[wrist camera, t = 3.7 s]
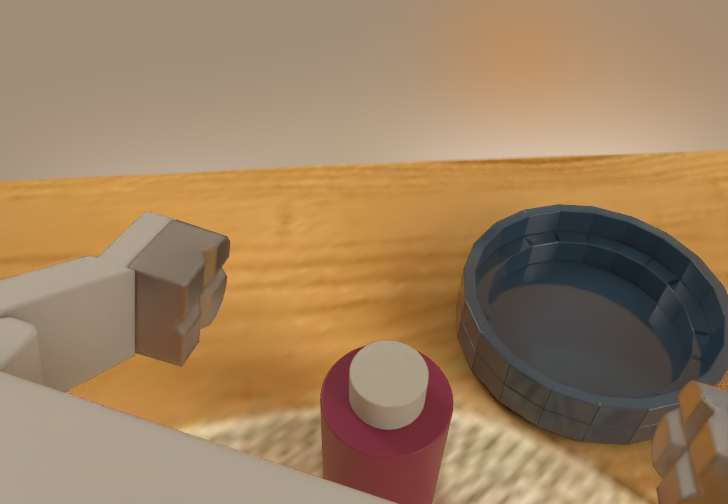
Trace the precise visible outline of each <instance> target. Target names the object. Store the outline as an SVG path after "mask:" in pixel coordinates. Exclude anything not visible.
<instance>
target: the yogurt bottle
mask: <svg viewBox="0 0 728 504" xmlns="http://www.w3.org/2000/svg"><path fill="white" fill-rule="evenodd" d="M320 404H321V429H322V455H323V479H326V480H329V481H332V482H335V483H338V484H341V485H344V486H347V487H350V488H353V489H356V490H359V491H362V492H365V493H368V494H371V495H374V496H377V497H380V498H383V499H386V500H389V501H392V502H395V503H398V504H432V501H433V497H434V492H435V488H436V484H437V479H438V475H439V470H440V466H441V461H442V457H443V453H444V448H445V444H446V439H447V435H448V430H449V426H450V421H451V417H452V412H453V395H452V391H451V387H450V385H449V382H448V380H447V378H446V377H445V375H444V373H443V372H442V371H441V369H440V368H439V367H438V366H437V365H436V364H435V363H434V362H433V361H432V360H431V359H429V358H428V357H427V356H425V355H424V354H422V353H420V352H418V351H416V350H415V349H413V348H412V347H410V346H408V345H406V344H404V343H401V342H397V341H378V342H374V343H371V344H369V345H367V346H363V347H360V348H357V349H355V350H353V351H351V352H349V353H348V354H346V355H344V356H343V357H342V358H341V359H339V360H338V361H337V362H336V363H335V364H334V365H333V366H332V368H331V369H330V371H329V372H328V374H327V375H326V377H325V379H324V382H323V385H322V389H321V398H320Z"/></svg>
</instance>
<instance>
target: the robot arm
mask: <svg viewBox="0 0 728 504" xmlns="http://www.w3.org/2000/svg"><path fill="white" fill-rule="evenodd" d="M229 250H230V240H229V238H228V237H227V236H224V235H221V234H218V233H215V232H212V231H209V230H206V229H203V228H200V227H197V226H194V225H191V224H188V223H185V222H182V221H179V220H174V219H172V218H169V217H166V216H163V215H160V214H157V213H153V212H145V213H143V214H142V215H141V216H140V217H139V218H138V219H137V220H136V221H134V222H133V223H132V224H131V225H130V226H129V227H128V228H127V229H126V230H125V231H124V232H123V233H122V234H121V235H120V236H119V237H118V238H117V239H116V240H115V241H114V242H113V243H112V244H111V245H110V246H109V247H108V248H107V249H106V250H105V251H104V252H103V253H102V254H101V255H100V256H98V257H97V258H95V257H92V256H86V257H82V258H79V259H75V260H71V261H68V262H64V263H60V264H57V265H53V266H49V267H46V268H42V269H38V270H35V271H31V272H28V273H24V274H20V275H17V276H13V277H9V278H6V279H2V280H0V504H398V503H395V502H392V501H389V500H386V499H383V498H380V497H377V496H374V495H371V494H368V493H365V492H362V491H359V490H356V489H353V488H350V487H347V486H344V485H341V484H338V483H335V482H332V481H329V480H326V479H323V478H320V477H317V476H314V475H311V474H308V473H305V472H302V471H299V470H296V469H293V468H290V467H287V466H284V465H281V464H278V463H275V462H272V461H269V460H266V459H263V458H260V457H257V456H254V455H250V454H247V453H244V452H241V451H238V450H235V449H232V448H229V447H226V446H223V445H220V444H217V443H214V442H211V441H208V440H205V439H202V438H199V437H196V436H193V435H190V434H187V433H184V432H181V431H178V430H175V429H172V428H169V427H166V426H163V425H160V424H157V423H154V422H151V421H148V420H145V419H142V418H139V417H136V416H133V415H130V414H127V413H124V412H121V411H118V410H115V409H112V408H109V407H106V406H103V405H100V404H97V403H94V402H91V401H88V400H85V399H82V398H79V397H76V396H73V395H70V394H67V393H64V392H66V391H68V390H70V389H71V388H73V387H75V386H77V385H79V384H81V383H83V382H85V381H87V380H89V379H91V378H93V377H95V376H96V375H98V374H100V373H102V372H104V371H106V370H108V369H110V368H112V367H114V366H116V365H118V364H120V363H122V362H123V361H125V360H127V359H129V358H131V357H133V356H135V353H137V354H140V355H144V356H147V357H151V358H154V359H157V360H161V361H164V362H167V363H171V364H174V365H178V366H181V367H182V366H183V364H184V363H185V361H186V360H187V358H188V357H189V356H190V354H191V353H192V351H193V350H194V348H195V347H196V345H197V344H198V342H199V335H200V329H202V328H204V327H207V326H209V325H210V324H211V323H212V321H213V319H214V318H215V316H216V315H217V312H218V310H219V308H220V305H221V303H222V300H223V297H224V293H225V289H226V281H227V276H226V274H225V272H224V270H223V269H222V266H223V264H224V263H225V262H226V260H227V259H228V257H229ZM677 396H678V400H679V405H680V408H677V409H675V410H672V411H670V412H667V413H665V414H664V416H663V418H662V419H661V421H660V422H659V424H658V425H657V427H656V431H655V434H654V437H653V441H652V452H651V455H652V462H653V467H654V468H655V470H656V471H657V472H658V473H659V475H660V476H661V477H662V479H663V480H662V482H661V483H660V484H659V486H658V487H657V495H658V501H659V504H728V391H727V390H724V389H721V388H717V387H714V386H711V385H707V384H704V383H701V382H698V381H694V380H691V381H690V382H689V383H687V384H686V385H685V386H684V387H683V389H682V390H681V391H680V393H679V394H678V395H677Z"/></svg>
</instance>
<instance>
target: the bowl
mask: <svg viewBox="0 0 728 504" xmlns="http://www.w3.org/2000/svg"><path fill="white" fill-rule="evenodd" d="M456 318H457V338H458V340H459V343H460V345H461V347H462V350H463V352H464V354H465V357H466V359H467V361H468V363H469V366H470V368H471V370H472V371H473V373H474V374H475V375H476V376H477V377H478V378H479V379H480V381H481V382H482V383H483V384H484V385H485V386H486V387H487V389H488V390H489V391H490V392H491V393H492V394H493V396H494V397H495V398H496V399H497V400H498V401H500V402H501V403H502V404H504V405H505V406H507V407H508V408H510V409H511V410H513V411H514V412H516V413H517V414H519V415H520V416H522V417H523V418H525V419H526V420H528V421H529V422H531V423H532V424H534V425H535V426H537V427H539V428H542V429H545V430H548V431H550V432H553V433H556V434H559V435H562V436H565V437H568V438H571V439H573V440H576V441H579V442H581V441H582V442H589V443H603V444H617V445H629V444H633V443H638V442H642V441H646V440H650V439H653V437H654V434H655V431H656V427H657V425H658V424H659V422H660V421H661V419H662V418H663V416H664V414H665V413H667V412H670V411H672V410H675V409H677V408H680V405H679V400H678V396H677V395H678V394H679V393H680V391H681V390H682V389H683V387H684V386H685V385H686V384H687V383H689V382H690V381H691V380H694V381H698V382H701V383H704V384H707V385H711V386H714V387H717V385H718V384H719V383H720V381H721V380H722V378H723V376H724V375H725V373H726V371H727V369H728V295H727V292H726V290H725V287H724V286H723V285H722V283H721V282H720V281H719V280H718V279H717V277H716V276H715V275H714V274H713V273H712V271H711V270H710V269H709V268H708V267H707V265H706V264H705V263H704V262H703V261H702V259H701V258H699V256H697V255H696V254H695V253H693V252H692V251H691V250H689V249H688V248H687V247H685V246H684V245H683V244H681V243H680V242H679V241H677V240H676V239H675V238H673V237H672V236H671V235H669V234H667V233H666V232H664V231H662V230H659V229H657V228H655V227H653V226H651V225H649V224H647V223H645V222H643V221H640V220H638V219H636V218H634V217H631V216H628V215H624V214H620V213H617V212H613V211H609V210H605V209H601V208H597V207H593V206H577V205H560V204H558V205H551V206H545V207H539V208H532V209H526V210H522V211H520V212H518V213H516V214H514V215H511V216H509V217H507V218H505V219H503V220H500V221H498V222H496V223H495V224H494V225H493V226H491V227H490V228H489V229H488V230H487V231H486V232H485V233H484V234H483V235H482V236H481V237H480V238H479V239H478V240H477V241H476V242H475V243H474V244H473V247H472V249H471V252H470V254H469V257H468V259H467V262H466V264H465V267H464V269H463V274H462V280H461V285H460V290H459V295H458V300H457V306H456Z"/></svg>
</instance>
